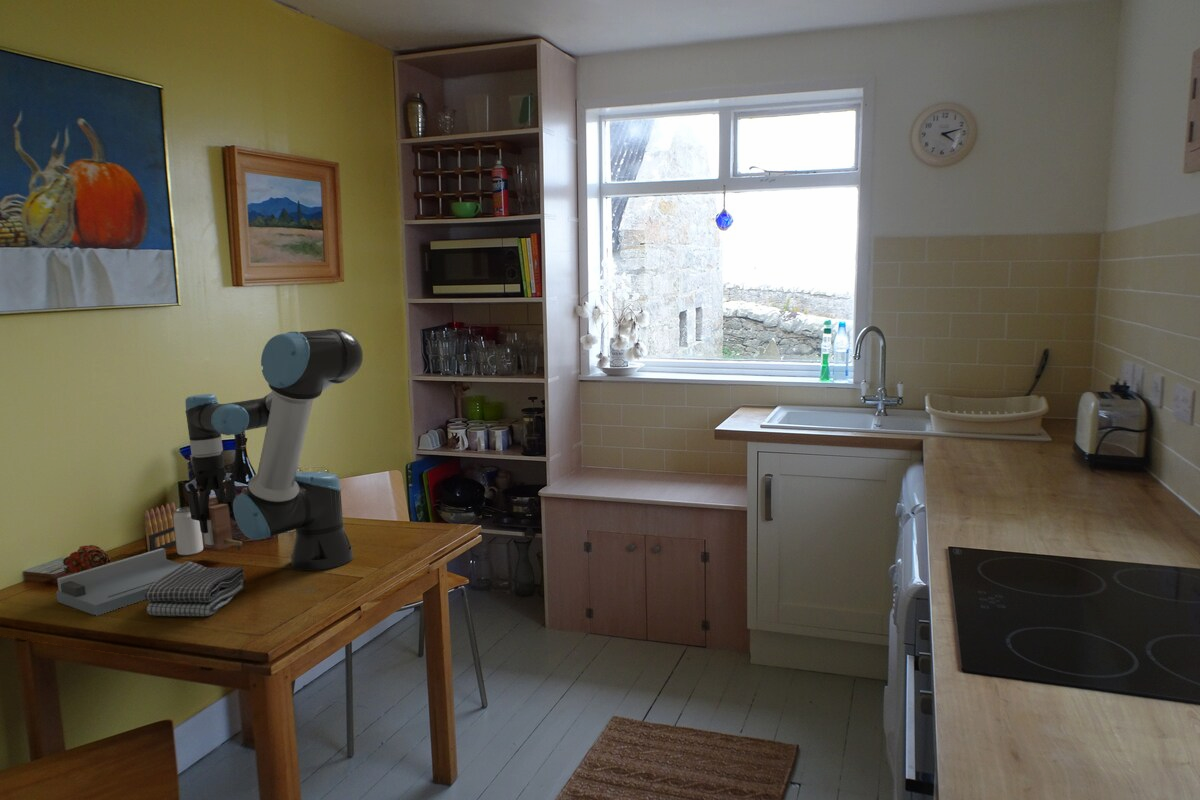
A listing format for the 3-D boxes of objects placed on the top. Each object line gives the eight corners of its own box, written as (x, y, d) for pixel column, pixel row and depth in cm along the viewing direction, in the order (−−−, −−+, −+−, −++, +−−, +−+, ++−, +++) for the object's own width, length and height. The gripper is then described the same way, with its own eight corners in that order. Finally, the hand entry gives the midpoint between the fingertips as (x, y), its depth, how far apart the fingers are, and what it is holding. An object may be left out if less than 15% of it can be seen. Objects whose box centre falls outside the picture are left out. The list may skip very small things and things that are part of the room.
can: (207, 551, 236) (202, 508, 234) (183, 557, 231) (178, 513, 229) (197, 546, 240) (193, 504, 238) (173, 552, 235) (168, 510, 234)
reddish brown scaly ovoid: (111, 583, 218) (69, 589, 220) (124, 555, 224) (83, 561, 226) (89, 563, 212) (47, 570, 214) (104, 535, 218) (62, 542, 220)
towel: (144, 620, 188) (140, 586, 187) (188, 590, 206) (184, 558, 205) (212, 619, 187) (208, 584, 186) (250, 589, 206) (247, 557, 204)
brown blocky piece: (247, 548, 224) (243, 507, 222) (233, 552, 220) (229, 510, 219) (217, 542, 231) (212, 502, 230) (203, 546, 228) (198, 505, 226)
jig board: (206, 579, 213) (203, 557, 212) (97, 616, 191) (93, 592, 191) (165, 568, 223) (163, 547, 222) (57, 601, 201) (54, 579, 200)
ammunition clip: (151, 553, 235) (146, 511, 234) (146, 553, 236) (140, 510, 234) (182, 542, 245) (177, 500, 244) (177, 541, 246) (172, 500, 244)
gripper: (228, 447, 233) (238, 531, 236) (167, 459, 219) (178, 549, 222) (245, 448, 229) (255, 534, 232) (184, 461, 215) (195, 552, 218)
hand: (217, 541), depth 227 cm, fingers closed on brown blocky piece, 4 cm apart
